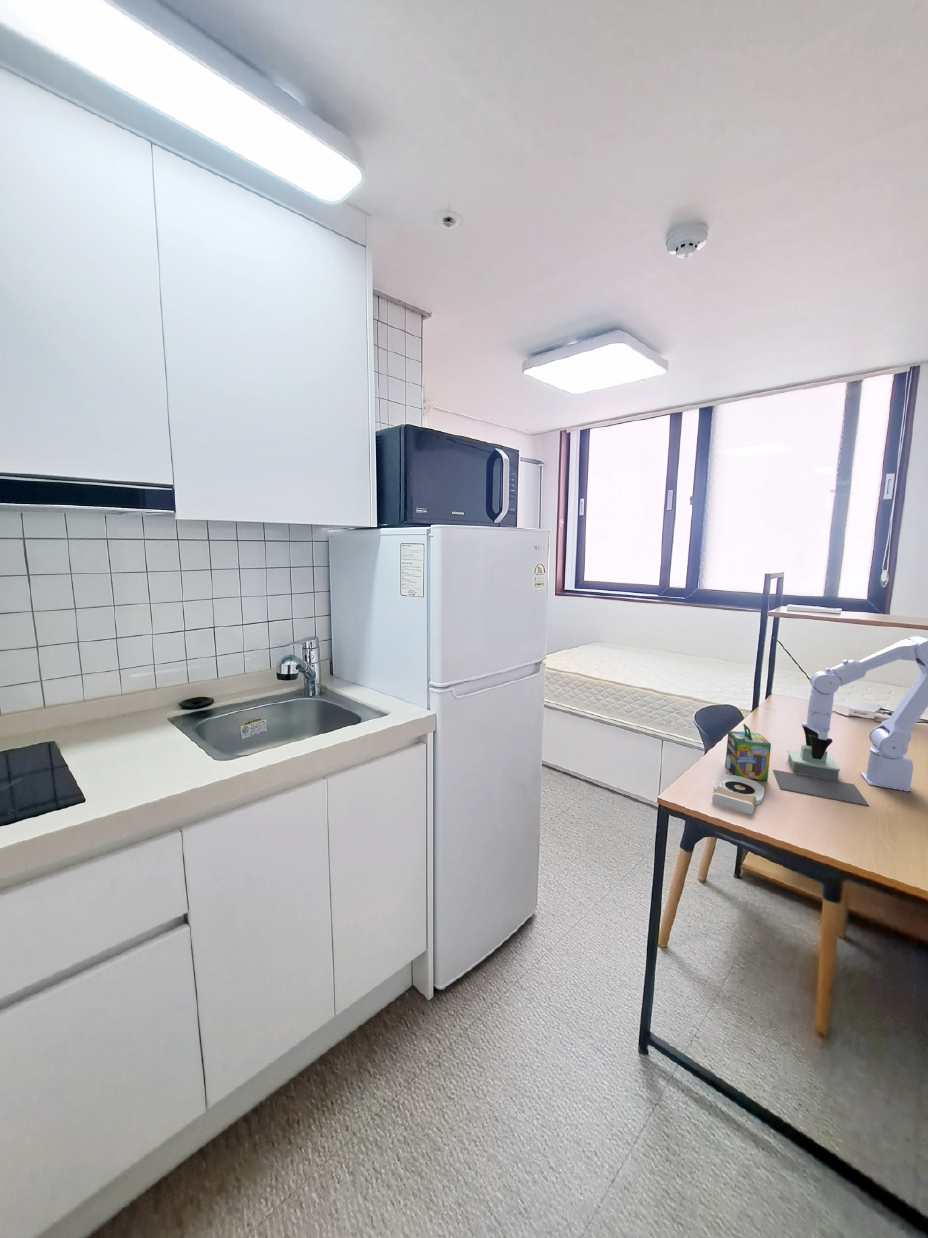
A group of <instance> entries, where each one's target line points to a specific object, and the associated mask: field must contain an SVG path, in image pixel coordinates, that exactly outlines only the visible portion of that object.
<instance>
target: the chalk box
mask: <svg viewBox="0 0 928 1238" xmlns="http://www.w3.org/2000/svg"><path fill="white" fill-rule="evenodd" d="M742 725H743V729H744V731H735V730H734V731H733V730H728V734H727V743H726V753H725V763H724V764H725V767H726V768H727V769H728V771H729V772H730V774H731V773H732V774H731V775H735V776H741V777H745V778H748V779H751V780H759V781H768V780H769V769H770V757H771V747H772V743H771V742H769V740H767V739H766V738H765V737H764V736H763V735H762V734H760V733H756V732H755V733H754V732H751V729H750V728H749V727H748V726H747V725H746V723H743V724H742Z"/></svg>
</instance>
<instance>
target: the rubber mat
mask: <svg viewBox="0 0 928 1238" xmlns="http://www.w3.org/2000/svg"><path fill="white" fill-rule="evenodd" d="M772 771H773V774H774V776H775V778H776V779H775V780H776V783H777V784H778V786H779V790H781V791H782V790H783V791H789V792H794V793H798V794H804V795H809V796H814V797H820V798H824V799H829V800H835V801H840V802H845V803H850V804H854V803H856V804H855V805H859V804H860V806H865V807H870V804H869V803H868V802H867V800H866V799H865V798H864V796H863V794H862V793H861V792H860V791H859V789H858V787H857V786H856V785H855V784H854V783H850V782H845V781H839V780H833V779H827V778H821V777H816V776H810V775H805V774H799V773H794V772H788V771H783V770H777V769H773V770H772Z"/></svg>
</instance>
